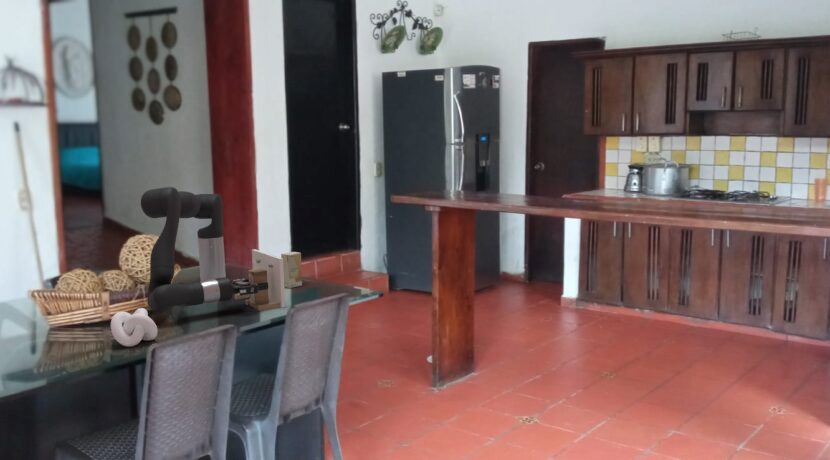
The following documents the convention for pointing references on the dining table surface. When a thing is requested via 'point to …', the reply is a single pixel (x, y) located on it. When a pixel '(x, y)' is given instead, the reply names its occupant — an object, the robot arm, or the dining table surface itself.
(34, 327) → the dining table surface
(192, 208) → the robot arm
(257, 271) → the frame block
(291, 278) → the skincare box
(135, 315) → the white knot sculpture
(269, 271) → the white upright flat panel
